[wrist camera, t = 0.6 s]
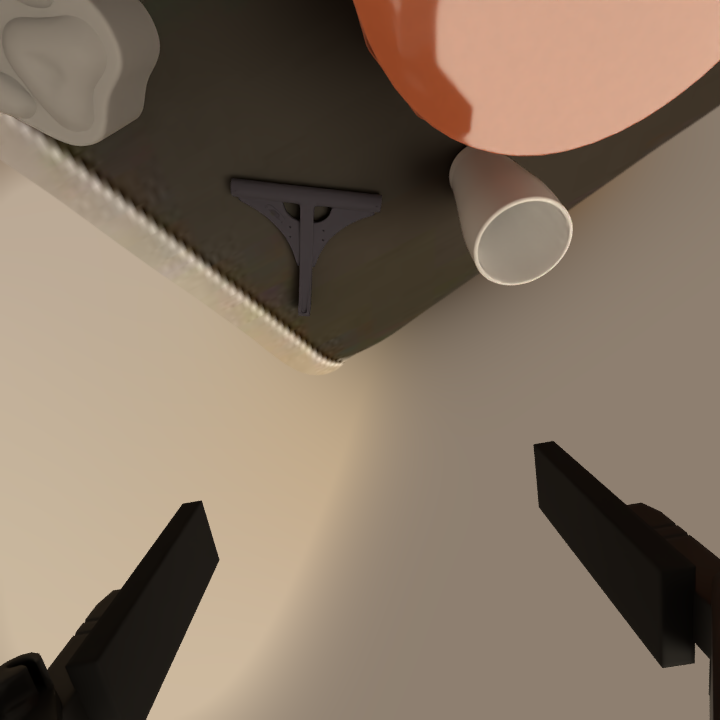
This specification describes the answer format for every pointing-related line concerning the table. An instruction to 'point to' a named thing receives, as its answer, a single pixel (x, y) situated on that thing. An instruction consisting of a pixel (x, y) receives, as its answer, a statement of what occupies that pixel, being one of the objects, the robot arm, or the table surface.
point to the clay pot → (539, 65)
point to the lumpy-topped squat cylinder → (75, 65)
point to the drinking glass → (508, 217)
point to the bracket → (306, 219)
